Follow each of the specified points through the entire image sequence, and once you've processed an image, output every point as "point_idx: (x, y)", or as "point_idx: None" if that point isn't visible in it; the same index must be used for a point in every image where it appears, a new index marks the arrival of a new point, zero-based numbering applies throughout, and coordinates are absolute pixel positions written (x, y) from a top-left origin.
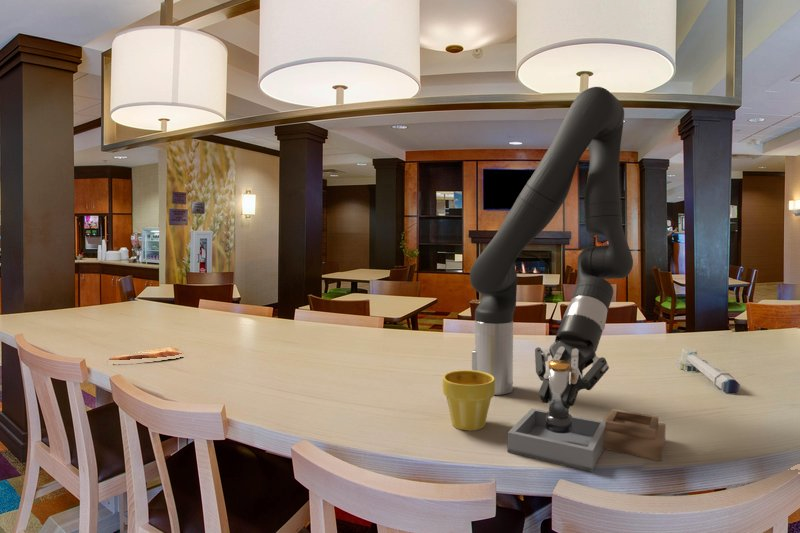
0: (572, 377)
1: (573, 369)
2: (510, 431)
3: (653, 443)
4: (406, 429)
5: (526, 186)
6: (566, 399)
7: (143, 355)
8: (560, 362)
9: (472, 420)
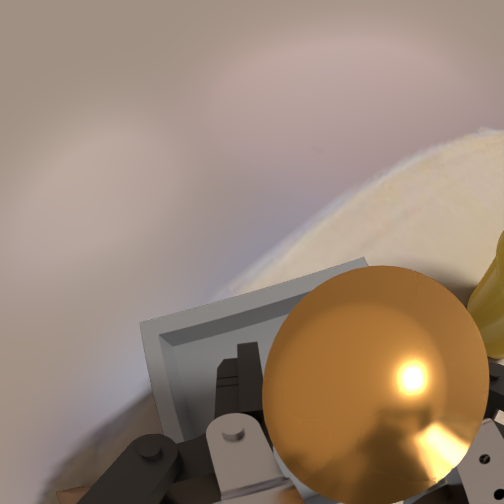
0: (255, 451)
1: (261, 489)
2: (364, 266)
3: (72, 493)
4: (497, 217)
5: None
6: (238, 349)
7: None
8: (382, 387)
9: (478, 288)
